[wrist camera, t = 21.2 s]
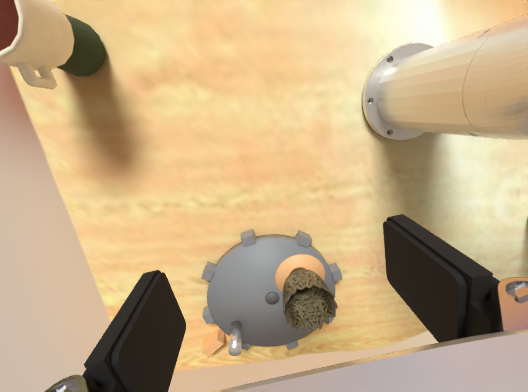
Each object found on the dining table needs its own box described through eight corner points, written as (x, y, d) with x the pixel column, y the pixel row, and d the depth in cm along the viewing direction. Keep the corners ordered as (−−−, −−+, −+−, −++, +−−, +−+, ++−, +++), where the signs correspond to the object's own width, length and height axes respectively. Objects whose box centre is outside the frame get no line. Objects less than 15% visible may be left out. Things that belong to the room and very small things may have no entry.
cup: (324, 286, 42) (341, 324, 35) (282, 297, 42) (290, 337, 35) (316, 249, 40) (332, 281, 32) (271, 261, 40) (278, 296, 32)
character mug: (30, 6, 29) (-125, -71, 17) (88, -9, 29) (-26, -97, 17) (73, 101, 33) (-29, 94, 21) (125, 88, 33) (54, 73, 21)
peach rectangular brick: (218, 328, 47) (216, 339, 44) (224, 333, 47) (223, 344, 45) (204, 341, 47) (201, 352, 45) (210, 345, 48) (208, 356, 46)
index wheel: (278, 201, 39) (284, 219, 33) (361, 289, 46) (380, 319, 39) (175, 289, 43) (162, 321, 36) (265, 359, 50) (268, 397, 43)
